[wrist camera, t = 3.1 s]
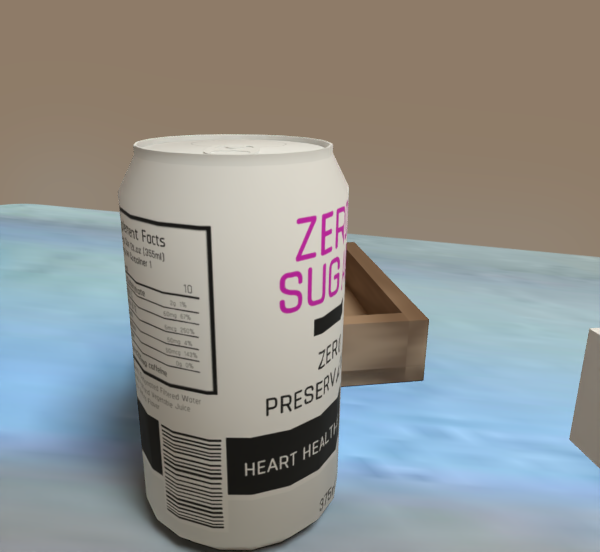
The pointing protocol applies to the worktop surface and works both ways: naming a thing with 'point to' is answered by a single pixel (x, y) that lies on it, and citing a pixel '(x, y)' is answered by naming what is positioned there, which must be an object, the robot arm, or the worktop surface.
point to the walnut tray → (379, 327)
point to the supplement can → (236, 330)
